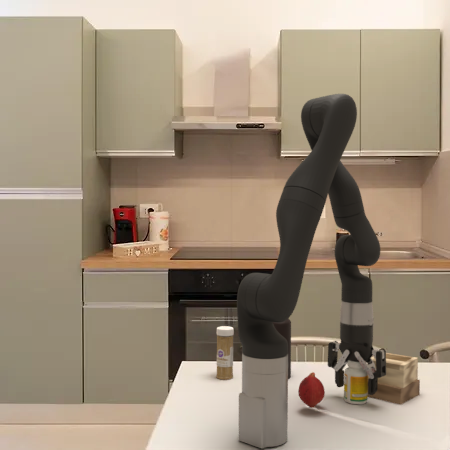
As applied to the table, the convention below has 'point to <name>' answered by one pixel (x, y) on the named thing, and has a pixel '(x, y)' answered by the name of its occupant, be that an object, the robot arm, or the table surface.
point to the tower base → (397, 392)
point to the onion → (311, 390)
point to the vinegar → (285, 331)
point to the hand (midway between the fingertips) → (355, 390)
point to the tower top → (399, 370)
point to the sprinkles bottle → (225, 352)
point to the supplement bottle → (355, 383)
